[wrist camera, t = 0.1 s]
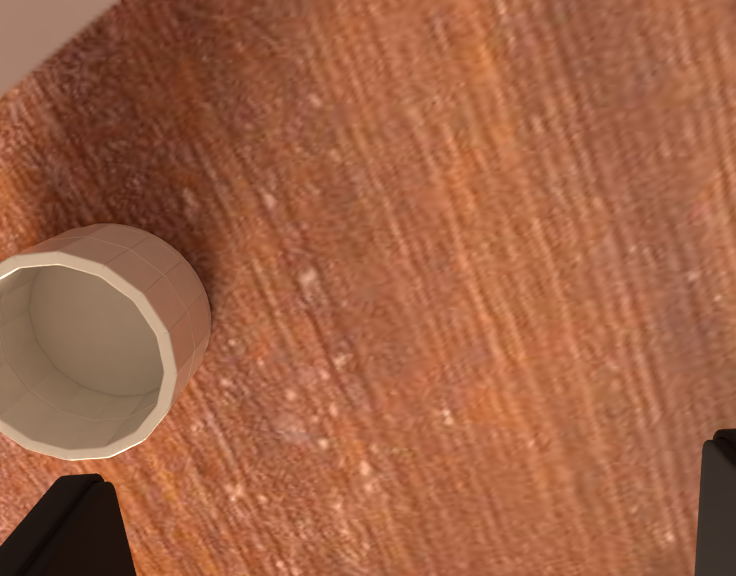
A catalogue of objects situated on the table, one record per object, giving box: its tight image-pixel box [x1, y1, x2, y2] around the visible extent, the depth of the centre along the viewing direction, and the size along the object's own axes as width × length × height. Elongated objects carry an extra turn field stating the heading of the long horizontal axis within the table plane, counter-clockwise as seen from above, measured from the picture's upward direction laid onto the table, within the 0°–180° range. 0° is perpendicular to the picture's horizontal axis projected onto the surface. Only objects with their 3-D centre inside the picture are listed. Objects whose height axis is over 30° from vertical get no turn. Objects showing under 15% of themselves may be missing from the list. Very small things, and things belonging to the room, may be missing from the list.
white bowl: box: [0, 223, 211, 460], centre depth 23 cm, size 7×7×4 cm
